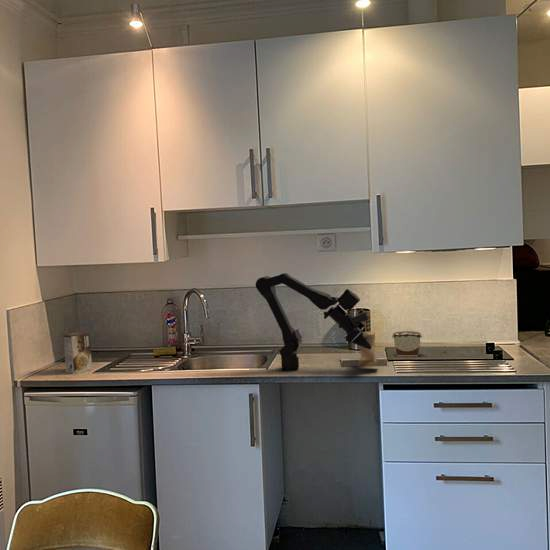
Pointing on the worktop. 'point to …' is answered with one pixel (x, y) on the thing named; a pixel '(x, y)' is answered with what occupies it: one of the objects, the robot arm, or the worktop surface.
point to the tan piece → (368, 351)
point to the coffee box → (77, 352)
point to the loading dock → (354, 359)
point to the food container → (407, 342)
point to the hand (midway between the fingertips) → (371, 347)
